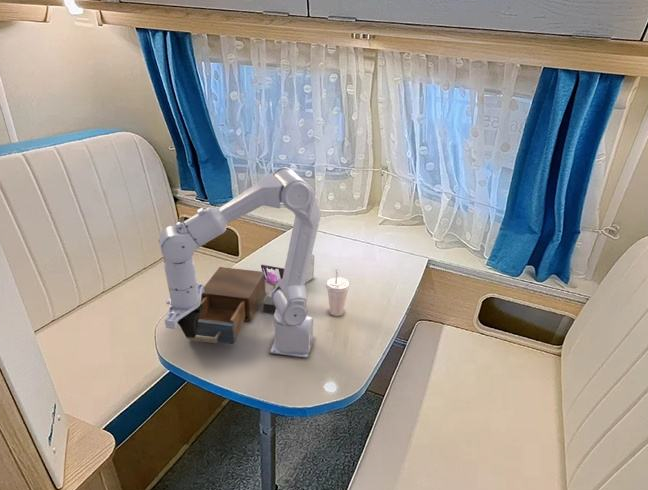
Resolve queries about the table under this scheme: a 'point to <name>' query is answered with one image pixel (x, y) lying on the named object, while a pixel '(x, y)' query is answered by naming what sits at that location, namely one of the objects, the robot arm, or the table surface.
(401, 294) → the table surface
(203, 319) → the drawer
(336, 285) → the smoothie
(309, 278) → the medicine box
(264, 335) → the table surface
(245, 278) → the cabinet
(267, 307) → the remote
